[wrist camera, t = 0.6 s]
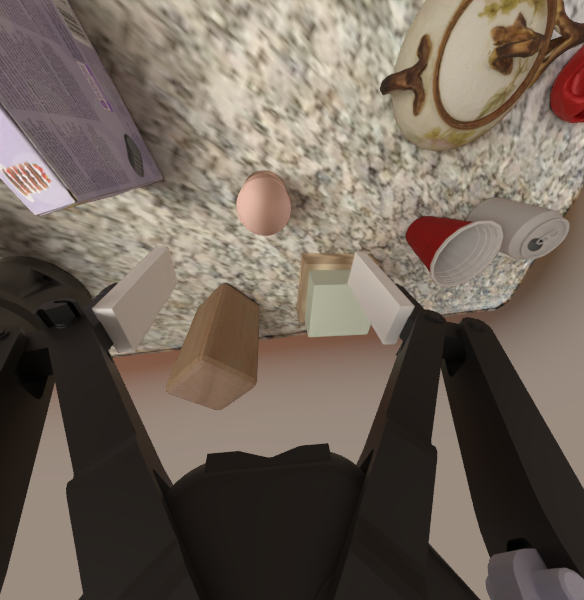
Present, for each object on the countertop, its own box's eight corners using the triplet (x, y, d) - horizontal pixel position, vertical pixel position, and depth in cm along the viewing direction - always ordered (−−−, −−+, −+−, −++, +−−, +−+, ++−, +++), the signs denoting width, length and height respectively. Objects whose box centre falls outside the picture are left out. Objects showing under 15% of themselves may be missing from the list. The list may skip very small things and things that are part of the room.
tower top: (304, 320, 46) (308, 337, 42) (309, 270, 39) (314, 285, 35) (358, 317, 47) (367, 334, 43) (372, 269, 40) (384, 283, 36)
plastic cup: (429, 260, 46) (473, 292, 36) (384, 253, 44) (417, 285, 34) (462, 207, 40) (525, 227, 30) (411, 195, 38) (461, 214, 28)
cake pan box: (7, -18, 22) (-488, -324, 7) (52, -36, 21) (-377, -393, 7) (136, 188, 33) (38, 223, 19) (166, 178, 33) (90, 207, 18)
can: (452, 225, 42) (509, 251, 32) (488, 187, 38) (564, 203, 28) (474, 243, 44) (532, 271, 35) (510, 209, 41) (585, 230, 31)
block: (261, 305, 48) (259, 386, 32) (233, 330, 52) (219, 414, 36) (224, 279, 44) (199, 359, 28) (196, 308, 47) (160, 394, 31)
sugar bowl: (356, 163, 34) (406, 174, 22) (355, 12, 25) (438, -108, 13) (482, 133, 33) (606, 129, 21) (528, -32, 24) (786, -202, 12)
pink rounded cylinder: (244, 216, 37) (238, 234, 30) (241, 169, 33) (234, 176, 26) (285, 218, 38) (289, 236, 30) (286, 172, 34) (292, 180, 26)
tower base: (296, 308, 50) (299, 322, 46) (301, 252, 42) (305, 264, 38) (353, 307, 52) (361, 321, 48) (369, 253, 44) (380, 264, 40)
